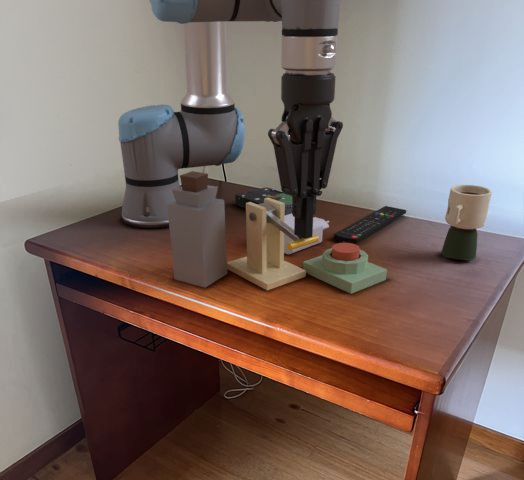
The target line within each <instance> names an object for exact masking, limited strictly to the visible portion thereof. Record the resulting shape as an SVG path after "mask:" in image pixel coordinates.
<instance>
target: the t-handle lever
mask: <svg viewBox="0 0 524 480" xmlns="http://www.w3.org/2000/svg"><path fill="white" fill-rule="evenodd" d="M257 205H260V206H262V207H265V208H266V224H269V223H271V224H273V225H274V226H275V227H277V228H278V229H279V230H280V231H282V232H283V233H284V234H286V235H287V236H288V237H290V238H291V239H292V240H293V242H290V243H287V249H288V250H293V249H296V248H299V247H302V246H305V245H309V244H312V243H315V242H318V241H319V237H318V235H313V236H312V237H311V238H307V239H304V238H302V237H299V236H297V235H294V230H293V229H292V228H291V227H289V226H288V225H287V224H285V223H284V222H283V221H282V220H280V219H279V218H278V217H276V216H275V214H276V209H275V208H273V207H272V206H271V205H269V204H268V203H267V202H265V203H261V204H257Z"/></svg>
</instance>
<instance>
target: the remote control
mask: <svg viewBox="0 0 524 480" xmlns="http://www.w3.org/2000/svg"><path fill="white" fill-rule="evenodd" d="M405 214H407V209H404V208H398V207H392V206H388V205H385V206H383V207H381V208H378V209H377V210H375V211H373V212H372V213H370V214H368V215H366V216H364V217H362V218H360V219H359V220H357V221H355V222H353V223H351V224H350V225H348V226H345V228H343V229H341V230H339V231H337V232H335V233H334V234H333V238H334V239H335V241H336V242H338V243H352V244H357V243H359V242H360V241H362V240H364V239H365V238H367V237H369V236H371V235H372V234H374V233H376V232H377V231H378V230H380V229H382V228H384V227H386V226H387V225H388V224H390V223H392V222H394V221H396V220H397V219H399V218H401V217H402V216H404V215H405Z"/></svg>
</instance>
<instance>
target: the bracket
mask: <svg viewBox="0 0 524 480" xmlns="http://www.w3.org/2000/svg"><path fill="white" fill-rule="evenodd" d="M265 202H267V203H268V204H269V205H271V206H272V207H273V208H275V209H276V214H275V216H276V217H278V218H279V219H280V220H282V221H283V222H284V218H285V203H282V202H280V201H277V200H274V199H271V198H264V203H265ZM245 225H246V228H245V229H246V230H245V231H246V256H244V257H240V258H237V259H233V260H231V261H227V271H230V272H232V273H234V274H235V275H238V276H239V277H241V278H243V279H245V280H247V281H249V282H250V283H253V284H254V285H257V286H258V287H259V288H261V289H264V290H265V291H269V290H272V289H276V288H278V287H281V286H283V285H286V284H290V283H292V282H295V281H298V280H300V279H303V278H305V277H307V273H306V270H304V269H303V267H302V268H301V267H299V266H297V265H296V264H293V263H290V262H289V261H286V260H285V253H284V233H283V232H282V231H280V230H279V229H278V228H277V227H275V226H274V225H273V224H271V223H269V224H266V208H265V207H262V206H260V205H257V204H255V203H252V202H248V203H246V208H245Z"/></svg>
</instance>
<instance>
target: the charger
mask: <svg viewBox="0 0 524 480" xmlns="http://www.w3.org/2000/svg"><path fill="white" fill-rule="evenodd" d="M294 222H295V217H293V215H292V213H291V214H288V215H285V218H284V223H285V224H287V225H288V226H289V227H291V228H292V229H293V230H294ZM329 223H330V220H325V219H324V218H319V217H316V216H313V234H312V236H313V235H318V237H319V241H318V242H315V243H312V244H309V245H305V246H302V247H299V248H296V249H293V250H288V249H287V243H290V242H293V240H292V239H291V238H290V237H288V236H287V235H286V234H284V254H286V255H292V254H295V253H297V252H300V251H302V250H305V249H308V248H310V247H313V246H316V245H318V244H321V243H322V242H323V234H324V233H323V232H324V231H326V230H328V229H329V228H330V225H329Z"/></svg>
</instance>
